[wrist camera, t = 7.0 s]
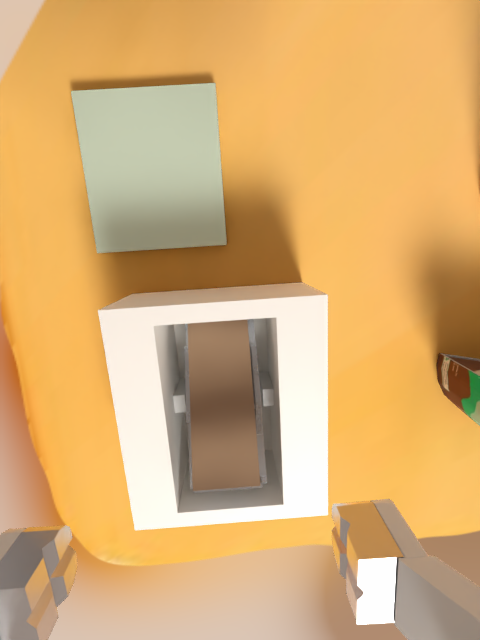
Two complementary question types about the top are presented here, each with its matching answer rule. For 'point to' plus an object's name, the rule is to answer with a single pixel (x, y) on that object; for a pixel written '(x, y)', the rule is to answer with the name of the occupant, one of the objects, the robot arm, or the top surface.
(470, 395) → the food container
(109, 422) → the top surface
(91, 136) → the sage pad
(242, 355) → the walnut slab
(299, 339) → the pocket jig
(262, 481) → the cradle
